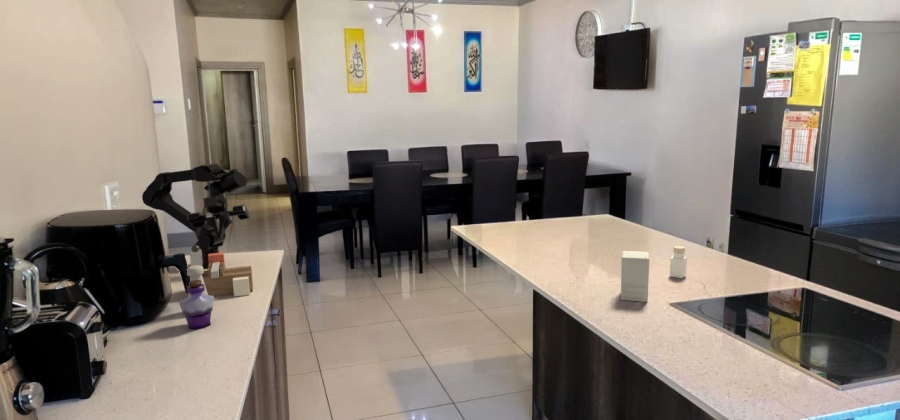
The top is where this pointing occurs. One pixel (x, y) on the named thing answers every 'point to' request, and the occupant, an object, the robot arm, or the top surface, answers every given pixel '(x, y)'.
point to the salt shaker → (196, 275)
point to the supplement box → (635, 276)
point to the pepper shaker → (678, 263)
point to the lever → (196, 256)
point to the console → (225, 279)
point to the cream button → (241, 286)
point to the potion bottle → (197, 306)
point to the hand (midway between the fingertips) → (219, 238)
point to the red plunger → (216, 263)
